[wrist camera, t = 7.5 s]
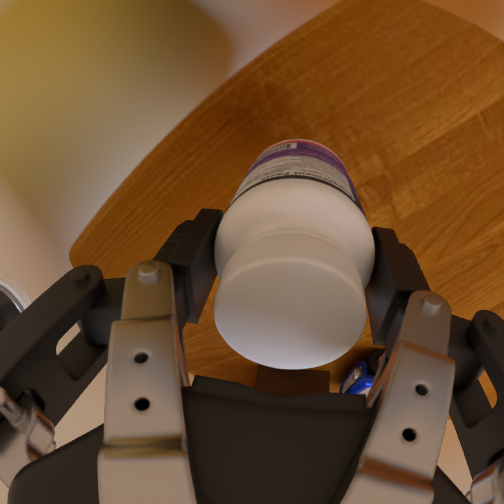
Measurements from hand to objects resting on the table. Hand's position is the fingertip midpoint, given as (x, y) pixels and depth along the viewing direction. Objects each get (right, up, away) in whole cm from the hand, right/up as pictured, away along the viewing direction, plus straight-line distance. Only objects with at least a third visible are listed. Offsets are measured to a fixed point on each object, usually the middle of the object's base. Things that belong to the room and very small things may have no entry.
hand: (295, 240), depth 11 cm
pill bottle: (+1, +3, +5) cm, 6 cm away
